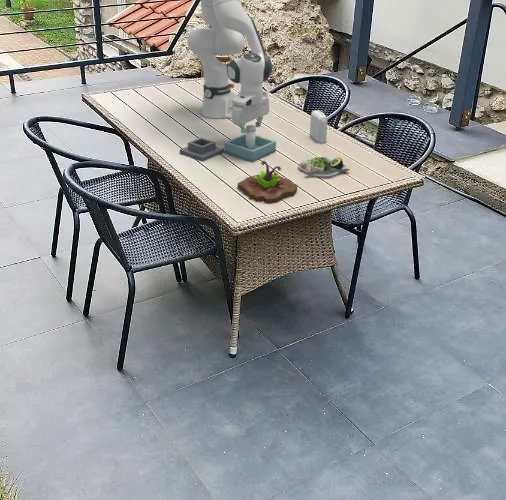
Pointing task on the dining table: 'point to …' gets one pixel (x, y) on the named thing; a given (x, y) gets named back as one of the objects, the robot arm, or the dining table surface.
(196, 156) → the grey square socket
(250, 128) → the cylinder
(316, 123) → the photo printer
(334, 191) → the dining table surface
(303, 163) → the salad plate
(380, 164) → the dining table surface
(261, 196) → the plant
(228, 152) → the parts tray
